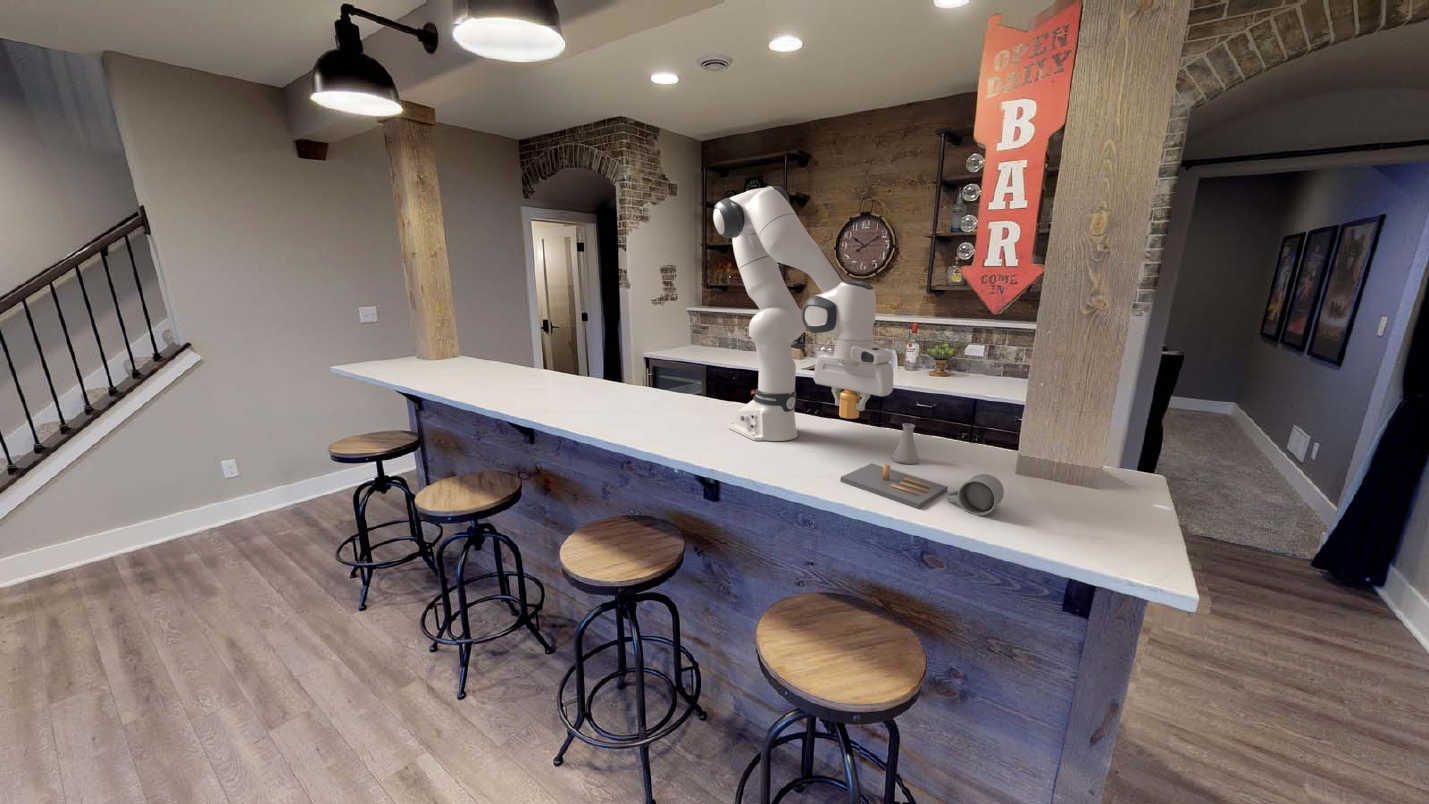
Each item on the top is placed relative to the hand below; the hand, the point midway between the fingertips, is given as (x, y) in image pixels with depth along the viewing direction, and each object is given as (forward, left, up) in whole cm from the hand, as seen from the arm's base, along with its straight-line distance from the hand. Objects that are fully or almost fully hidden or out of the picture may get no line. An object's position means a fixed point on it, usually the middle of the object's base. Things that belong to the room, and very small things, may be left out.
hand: (849, 407), depth 129 cm
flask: (+5, +22, -18) cm, 29 cm away
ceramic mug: (+29, +6, -18) cm, 35 cm away
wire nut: (0, 0, -2) cm, 2 cm away
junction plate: (+12, +3, -18) cm, 21 cm away
